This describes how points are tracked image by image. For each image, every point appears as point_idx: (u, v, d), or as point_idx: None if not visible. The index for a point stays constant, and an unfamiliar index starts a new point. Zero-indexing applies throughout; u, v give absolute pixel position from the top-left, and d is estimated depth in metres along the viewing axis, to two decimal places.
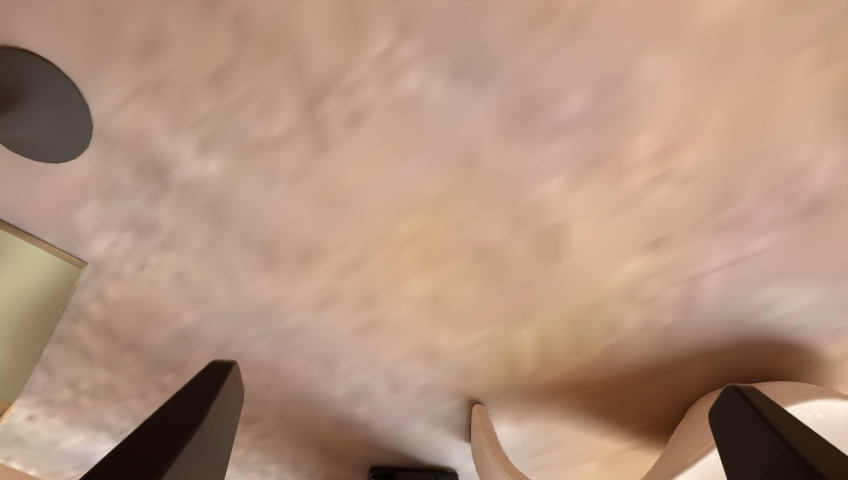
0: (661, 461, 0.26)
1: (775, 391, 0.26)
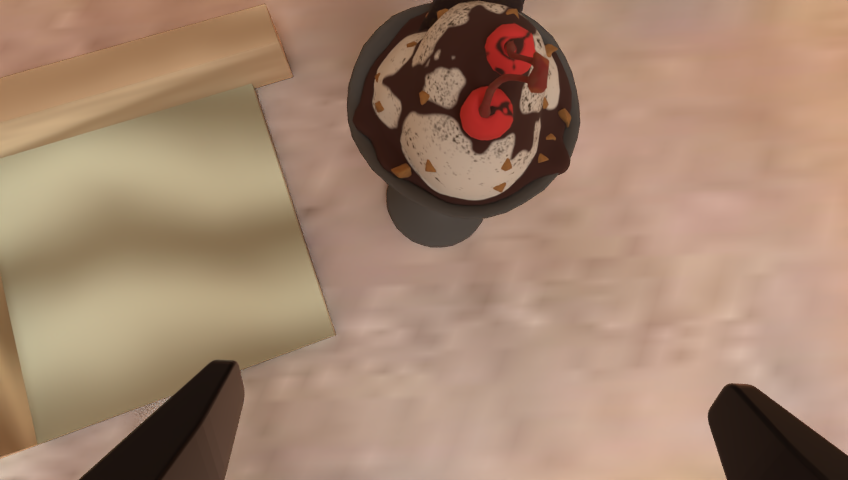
0: None
1: None
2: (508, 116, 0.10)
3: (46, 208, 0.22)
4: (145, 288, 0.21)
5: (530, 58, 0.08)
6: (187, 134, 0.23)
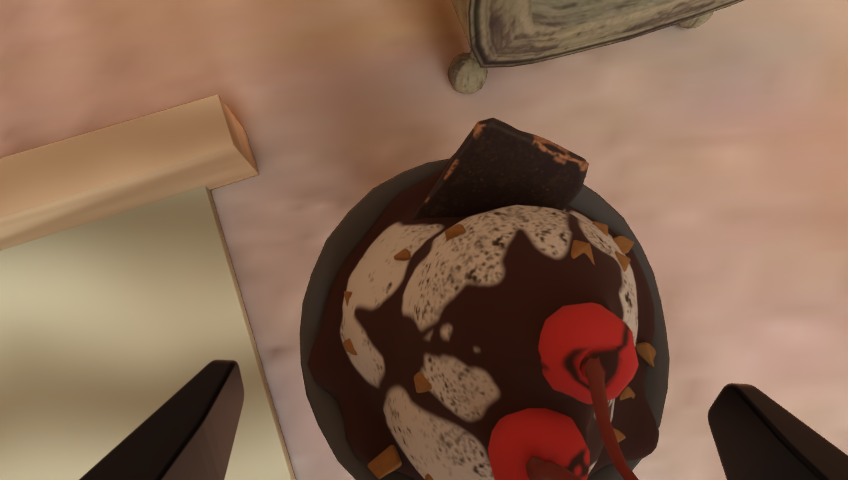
0: None
1: None
2: (582, 471, 0.06)
3: None
4: (57, 467, 0.16)
5: None
6: (120, 254, 0.18)
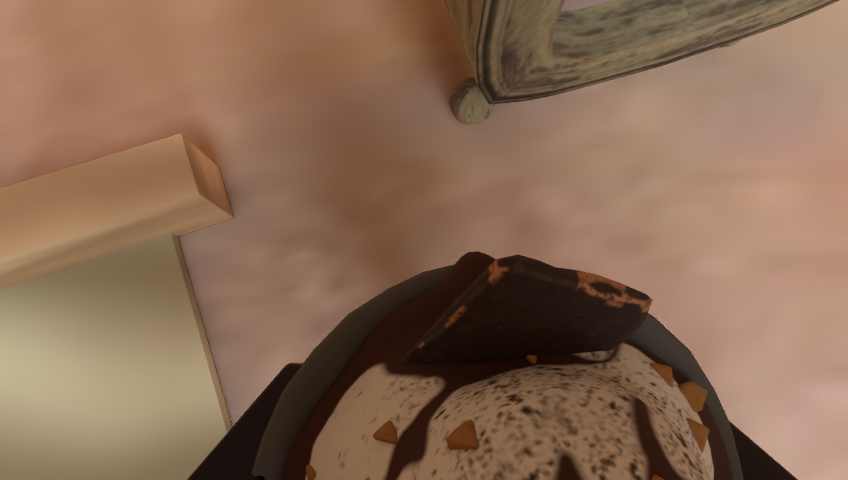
0: None
1: None
2: None
3: None
4: None
5: None
6: (72, 315, 0.15)
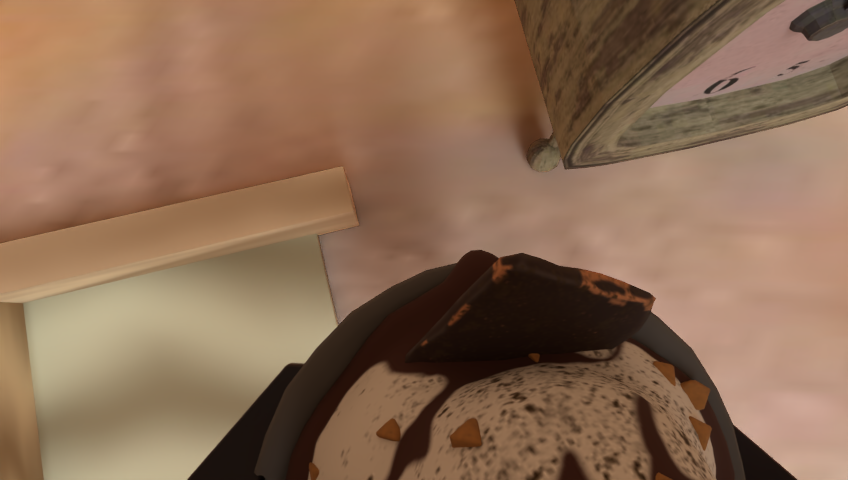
0: None
1: None
2: None
3: (91, 357, 0.20)
4: (187, 456, 0.20)
5: None
6: (244, 285, 0.21)
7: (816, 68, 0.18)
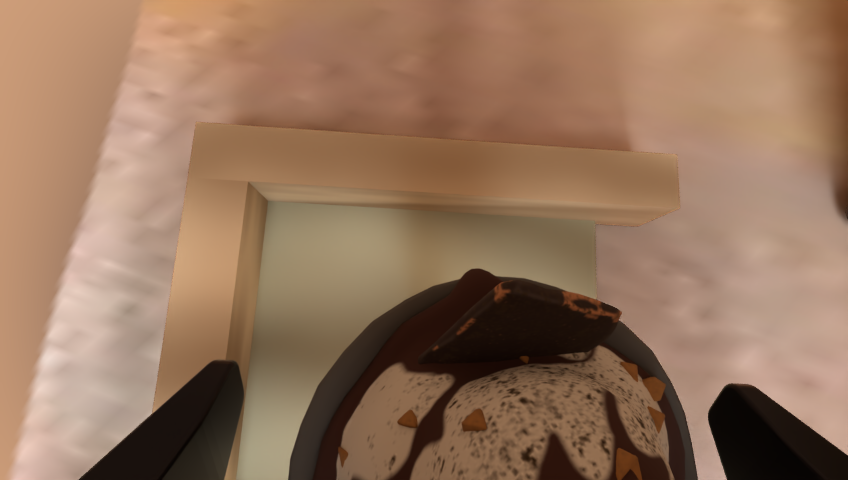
0: None
1: None
2: None
3: (325, 282, 0.18)
4: None
5: None
6: (505, 254, 0.18)
7: None
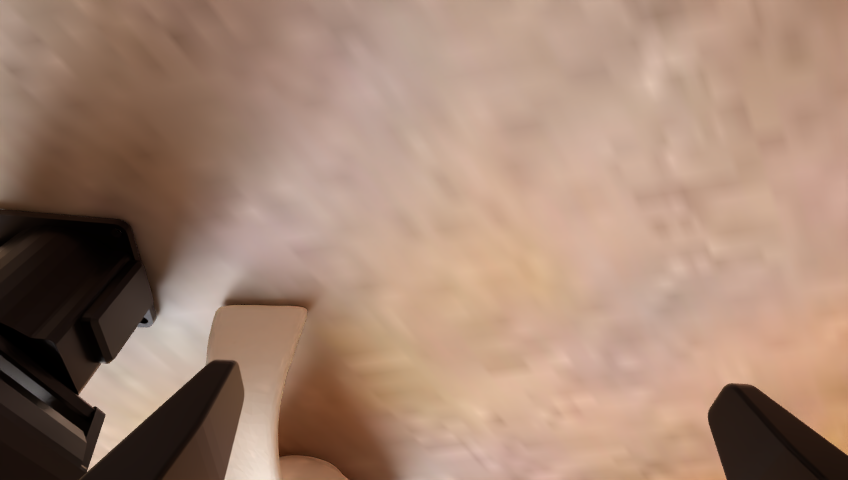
0: None
1: None
2: None
3: None
4: None
5: None
6: None
7: None
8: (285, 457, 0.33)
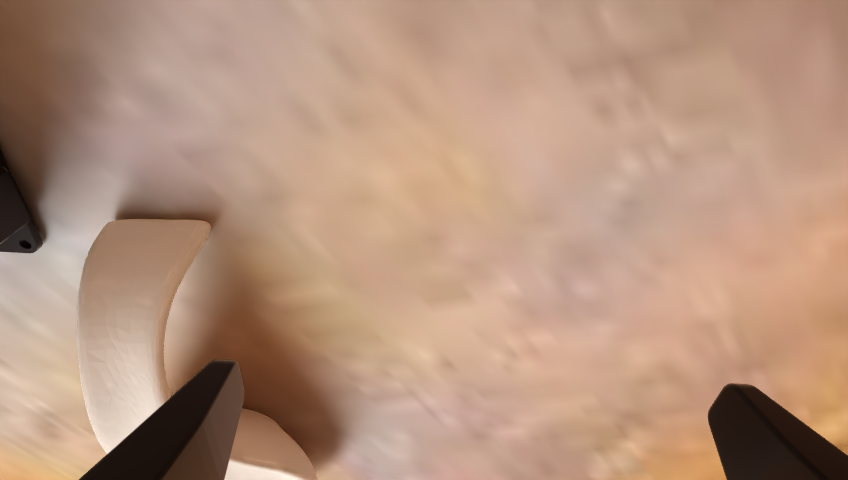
0: None
1: (312, 468, 0.29)
2: None
3: None
4: None
5: None
6: None
7: None
8: None
